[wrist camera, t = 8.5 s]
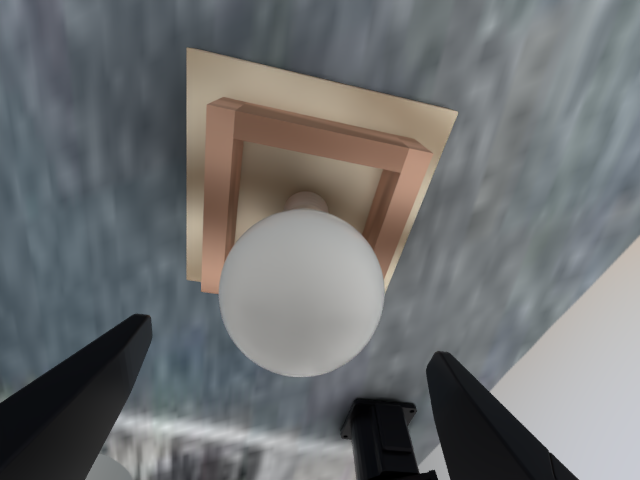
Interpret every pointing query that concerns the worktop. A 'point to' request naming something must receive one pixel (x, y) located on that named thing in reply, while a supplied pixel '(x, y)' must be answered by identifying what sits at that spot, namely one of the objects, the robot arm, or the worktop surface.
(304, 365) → the lightbulb
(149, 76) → the worktop surface
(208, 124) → the holder
